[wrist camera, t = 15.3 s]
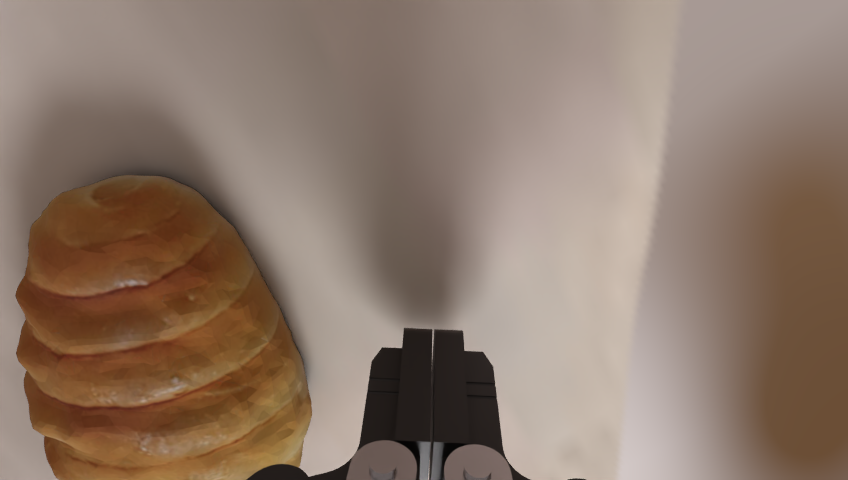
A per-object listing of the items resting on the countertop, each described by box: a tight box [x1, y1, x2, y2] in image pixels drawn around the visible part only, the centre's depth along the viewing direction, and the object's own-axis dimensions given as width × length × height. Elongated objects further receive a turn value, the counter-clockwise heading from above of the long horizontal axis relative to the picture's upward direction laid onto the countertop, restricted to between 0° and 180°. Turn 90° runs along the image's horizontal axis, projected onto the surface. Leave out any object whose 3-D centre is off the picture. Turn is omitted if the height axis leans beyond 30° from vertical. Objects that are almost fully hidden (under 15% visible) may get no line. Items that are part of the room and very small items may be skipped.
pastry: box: [16, 175, 312, 480], centre depth 14 cm, size 9×7×4 cm
